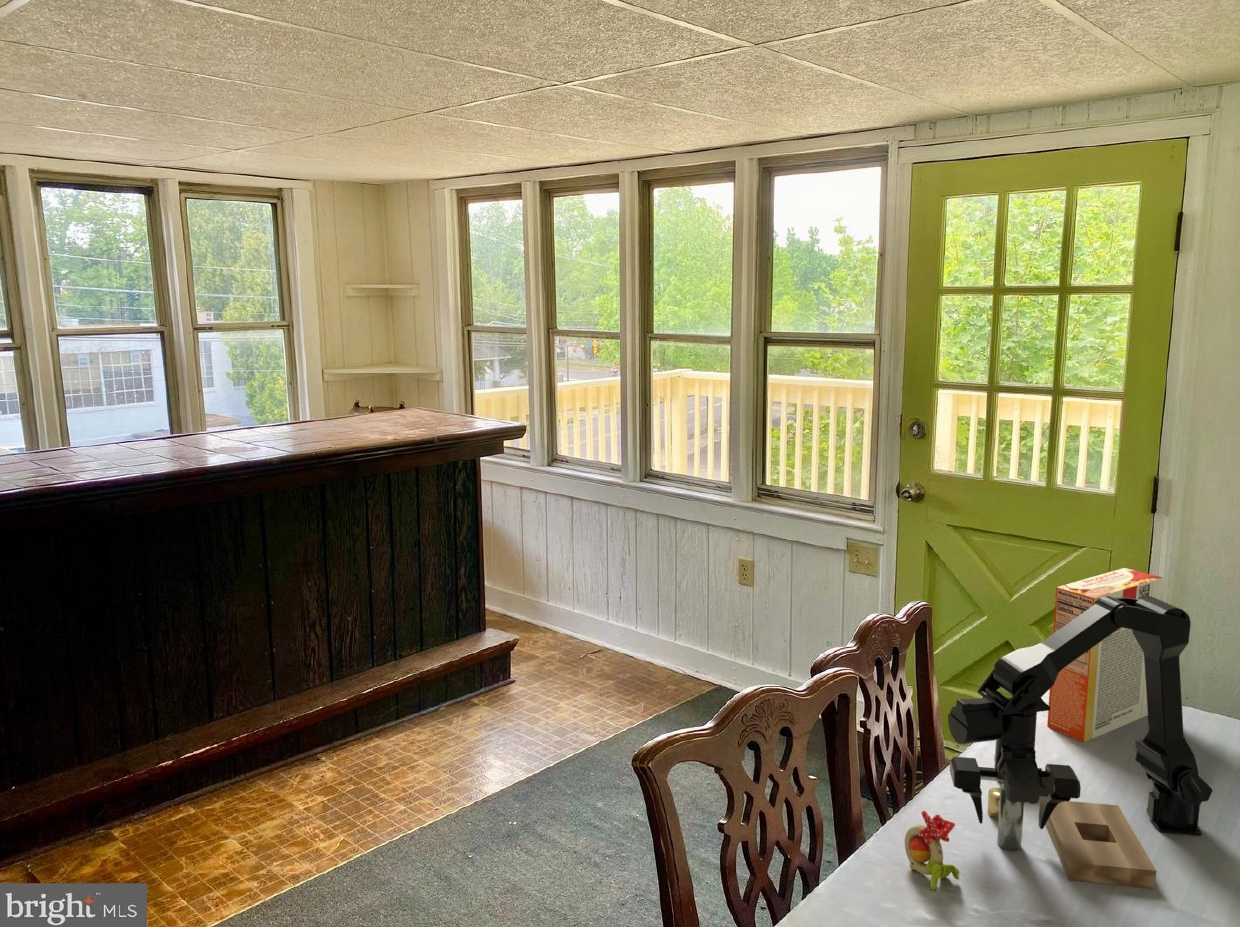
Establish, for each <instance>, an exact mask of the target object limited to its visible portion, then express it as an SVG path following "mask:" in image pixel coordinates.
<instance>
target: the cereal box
mask: <svg viewBox="0 0 1240 927" xmlns="http://www.w3.org/2000/svg"><path fill="white" fill-rule="evenodd" d="M1162 587H1163V577H1162V576H1159V575H1155V574H1150V573H1146V572H1142V571H1139V570H1134V569H1130V568H1127V567H1122V568H1119V569H1115V570H1113V571H1112V570H1111V571H1109V572H1105V573H1102V574H1098V575H1094V576H1091V577H1086V578H1084V579H1081V580H1078V581H1073V582H1070V583H1067V584H1063V585H1060V586H1057V587H1056V589H1055V606H1054V617H1053V618H1054V620H1053V632H1052V633H1053V634H1054V633H1055V632H1057V631H1058V630H1059V629H1061V628H1062V627H1064V626H1065V625H1066V624H1068V623H1069V622H1071V621H1072V620H1073V619H1075V618H1076V617H1078V616H1079V615H1081V614H1082V613H1083V612H1085V611H1086V610H1088V609H1089V608H1090V607H1092V606H1093V605H1094V603H1095V601H1096V600H1097V599H1098V598H1100V597H1102V596H1110V597H1114V598H1119V597H1126V598H1132V599H1138V600H1139V599H1140V598H1143V597H1146V596H1151V597H1155V598H1157V599H1159V600H1161V601H1162V589H1163V588H1162ZM1048 694H1049V696H1048V705H1049V706H1050V708H1051V709H1050V710H1049V711H1048V712H1047V725H1046V726H1047V727H1048V728H1050V727H1051V728H1050V729H1052V728H1053V729H1052V730H1054V729H1055V730H1054V731H1056V730H1057V731H1056V732H1059V733H1061V734H1064V735H1066V734H1067V735H1066V736H1068V737H1071V738H1072V739H1075V740H1077V741H1079V742H1081V743H1086V742H1089V741H1091V740H1093V739H1095V738H1097V737H1100V736H1102V735H1104V734H1107V733H1110V732H1112V731H1114V730H1116V729H1119V728H1121V727H1124V726H1126V725H1128V724H1130V723H1132V722H1135V721H1138V720H1140V719H1142V718H1145V717H1146V716H1147V717H1148V709H1147V693H1146V678H1145V663H1144V653H1143V650H1142V649H1141V647H1140V645H1139V643H1138V642H1137V640H1136V638H1135V637H1134V635H1133V632H1132V629H1127V628H1119V629H1118V630H1117V631H1115V632H1114V633H1112V634H1111V635H1110V636H1108V637H1107V638H1105V639H1104V640H1102V641H1101V642H1100V643H1098V644H1097V645H1095V646H1094V647H1093V648H1091V649H1090V650H1088V651H1087V652H1086V653H1084V654H1083V655H1081V656H1080V657H1079V658H1077V659H1076V660H1074V661H1073V662H1072V663H1070V664H1069V665H1067V666H1066V667H1064V668H1063V669H1062V670H1061V671H1060V672H1059V673H1058V676H1057V678H1056V681H1055V683H1054V685H1053V686H1052V687H1051V688H1050V689H1049V693H1048Z"/></svg>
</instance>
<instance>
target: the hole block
mask: <svg viewBox="0 0 1240 927" xmlns="http://www.w3.org/2000/svg"><path fill="white" fill-rule="evenodd" d="M1044 827H1045V828H1046V829H1047V832H1048V834H1049V835H1048V836H1049V837H1050V840H1051V842H1052V845H1053V846H1054V847H1053V848H1054V849H1055V851H1056V853H1057V856H1058V858H1059V861H1060V863H1061V866H1062V868H1063V870H1064V873H1065V875H1066V877H1067V880H1068V881H1073V882H1074V881H1075V882H1086V883H1094V884H1103V885H1104V884H1105V885H1114V886H1123V887H1124V886H1126V887H1132V888H1133V887H1136V888H1145V889H1155V888H1156V881H1157V880H1156V879H1157V869H1156V867H1155V866H1154V864H1153V863H1152V861H1151V859H1150V857H1149V856H1148V854H1147V852H1146V850H1145V849H1144V847H1143V846H1142V843H1141V842H1140V840H1139V839H1138V837H1137V835H1136V833H1135V831H1134V830H1133V828H1132V827H1131V824H1130V823H1129V822H1128V820H1127V818H1126V816H1125V814H1124V813H1123V811H1122V809H1121V807H1120V806H1119V805H1117V804H1109V803H1108V804H1105V803H1096V802H1085V801H1083V802H1082V801H1073V800H1070V801H1068V802H1066V801H1064V802H1061V803H1059V804H1058V805H1057V806H1056V807H1055V809H1054V810H1053V812H1052V813H1051V815H1050V817H1049V819H1048V821H1047V823H1046V824H1045V826H1044Z"/></svg>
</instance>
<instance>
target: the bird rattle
mask: <svg viewBox="0 0 1240 927" xmlns="http://www.w3.org/2000/svg"><path fill="white" fill-rule="evenodd" d="M920 813H921V816H922V818H923V820H924V823H925V825H924V824H917V825H916V824H915V825H913V826H911V827H910V828H909V829H908V830H907V831H906V833H905V837H904V849H905V853H906V857H907V859H908V862H909V868H910V870H911V871H916V872H918V873H920V874H922V875H925V876H930V888H931V889H932V890H936V889H937V886H938V882H939V881H940V880H939V879H944V878H948V877H949V876H950V874H952V876H953V878H954V879H955V880H958V881H959V880H960V874H961V873H960V870H959V869H958V867H957V866H955V865H954V864H944V853H943V852H944V850H943V847H942V844H941V842H940V841H941V840H942V841H943V842H946V843H950V842H949V841H950V837H949V833H950V832H951V831H952V830H953V829H954V828H955V826H956V823H955V822H953V821H950V820H946V819H944V818H943V817H942V816H941V815H940V814H935V815H934V816H933V817H931V816H930V815H929V814H928V812H927V811H926V810H922V811H921V812H920ZM926 862H927V863H926Z"/></svg>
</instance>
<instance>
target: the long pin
mask: <svg viewBox="0 0 1240 927" xmlns="http://www.w3.org/2000/svg"><path fill="white" fill-rule="evenodd" d="M999 786H1000V787H999V788H1000V803H999V820H997V821H998V824H997V825H998V826H997V838H996V839H997V840H996V842H997V843H996V844H997V846H998V847H1000V848H1001V849H1002V850H1005V851H1008V852H1018V851H1021V849H1022V840H1023V839H1022V838H1023V825H1024V807H1025V802H1010V801H1009V800H1007V799H1006V797H1005V790H1004V785H1003V783H1002V784H1000V785H999Z"/></svg>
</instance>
